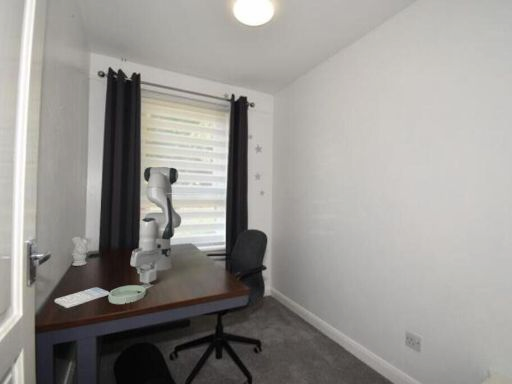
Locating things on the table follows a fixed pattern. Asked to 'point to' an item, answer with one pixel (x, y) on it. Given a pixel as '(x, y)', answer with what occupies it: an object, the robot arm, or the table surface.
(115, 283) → the table surface
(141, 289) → the faceted green bowl
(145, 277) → the security camera
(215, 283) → the table surface
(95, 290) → the calculator
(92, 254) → the table surface
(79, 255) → the cherub figurine
